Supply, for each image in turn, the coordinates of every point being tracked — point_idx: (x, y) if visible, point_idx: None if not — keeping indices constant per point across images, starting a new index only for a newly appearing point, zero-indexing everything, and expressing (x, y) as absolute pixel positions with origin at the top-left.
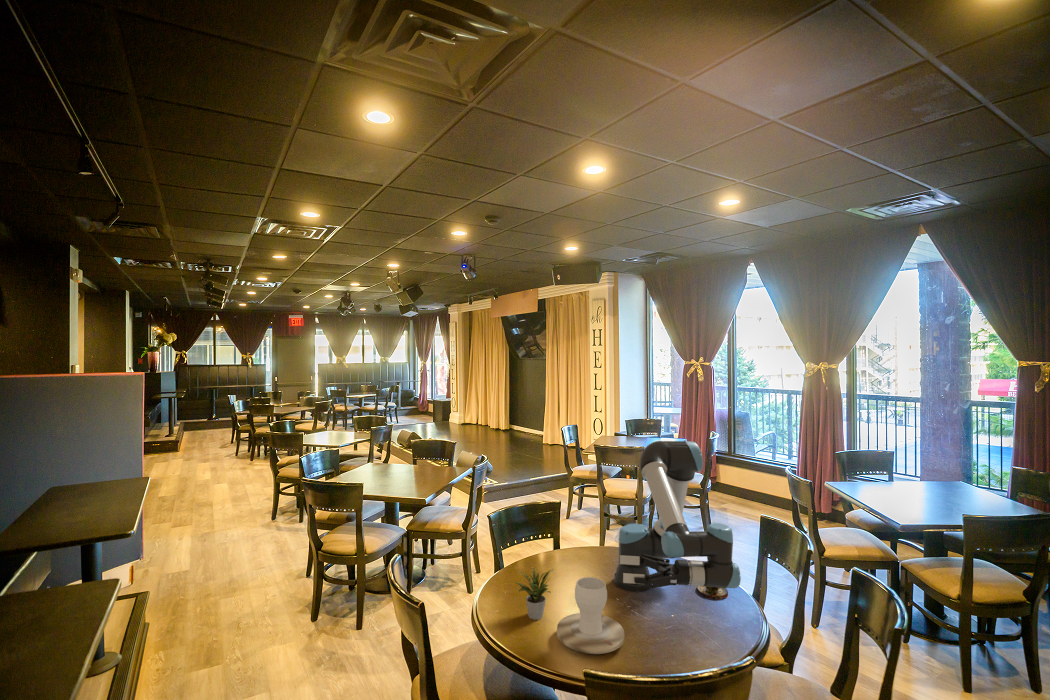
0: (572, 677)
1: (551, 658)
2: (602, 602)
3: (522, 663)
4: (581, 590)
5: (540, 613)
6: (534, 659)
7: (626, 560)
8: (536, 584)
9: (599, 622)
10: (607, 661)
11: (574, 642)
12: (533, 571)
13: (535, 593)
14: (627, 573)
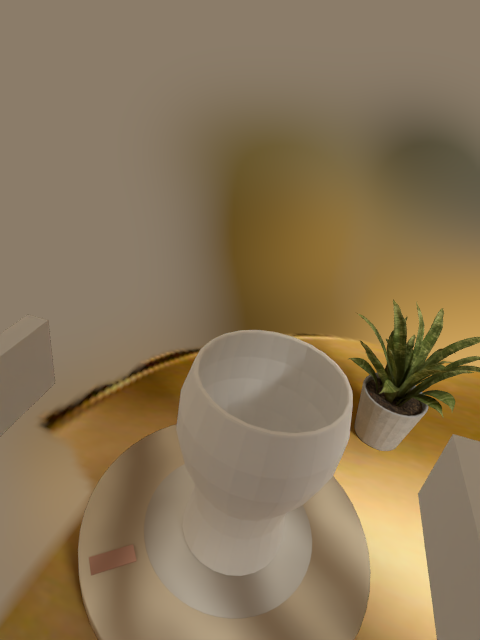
0: (46, 428)
1: (153, 410)
2: (184, 449)
3: (155, 357)
4: (226, 341)
5: (363, 425)
6: (162, 378)
7: (447, 530)
8: (414, 358)
9: (202, 523)
10: (67, 562)
11: (159, 443)
12: (467, 341)
13: (372, 358)
14: (19, 339)
